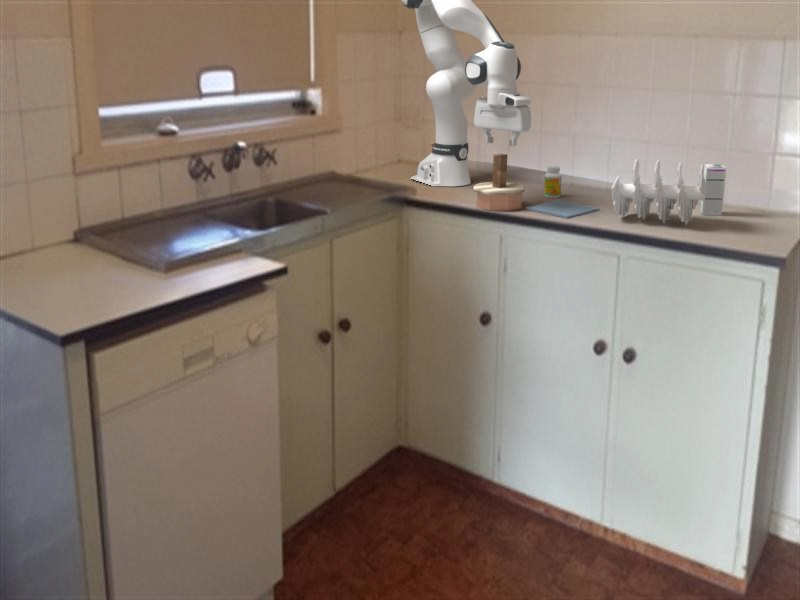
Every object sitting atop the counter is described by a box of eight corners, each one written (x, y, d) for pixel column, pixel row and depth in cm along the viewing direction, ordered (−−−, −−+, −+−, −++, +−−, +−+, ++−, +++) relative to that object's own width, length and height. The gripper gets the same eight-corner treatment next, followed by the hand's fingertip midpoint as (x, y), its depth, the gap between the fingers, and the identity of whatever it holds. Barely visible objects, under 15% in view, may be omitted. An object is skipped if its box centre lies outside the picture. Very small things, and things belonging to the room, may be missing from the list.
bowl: (467, 205, 272) (468, 189, 270) (496, 199, 280) (497, 183, 279) (500, 212, 262) (501, 196, 260) (529, 206, 271) (530, 190, 269)
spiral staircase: (617, 226, 262) (703, 231, 251) (605, 212, 246) (697, 216, 235) (624, 168, 264) (710, 170, 253) (613, 150, 248) (704, 151, 237)
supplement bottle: (541, 196, 284) (543, 167, 281) (546, 193, 288) (548, 164, 285) (557, 198, 282) (559, 168, 278) (562, 195, 286) (564, 166, 283)
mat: (525, 209, 266) (525, 207, 266) (557, 202, 276) (557, 200, 276) (567, 218, 255) (567, 216, 255) (599, 210, 265) (599, 208, 265)
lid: (462, 189, 270) (463, 154, 267) (497, 182, 280) (498, 148, 277) (501, 197, 259) (502, 160, 255) (535, 190, 269) (537, 154, 265)
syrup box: (722, 216, 257) (727, 167, 253) (701, 215, 259) (706, 166, 254) (719, 211, 263) (724, 164, 258) (698, 211, 264) (704, 163, 259)
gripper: (469, 97, 266) (469, 142, 270) (520, 100, 251) (519, 148, 256) (483, 95, 270) (483, 140, 274) (534, 99, 255) (533, 146, 260)
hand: (501, 144), depth 265 cm, fingers open, 8 cm apart
